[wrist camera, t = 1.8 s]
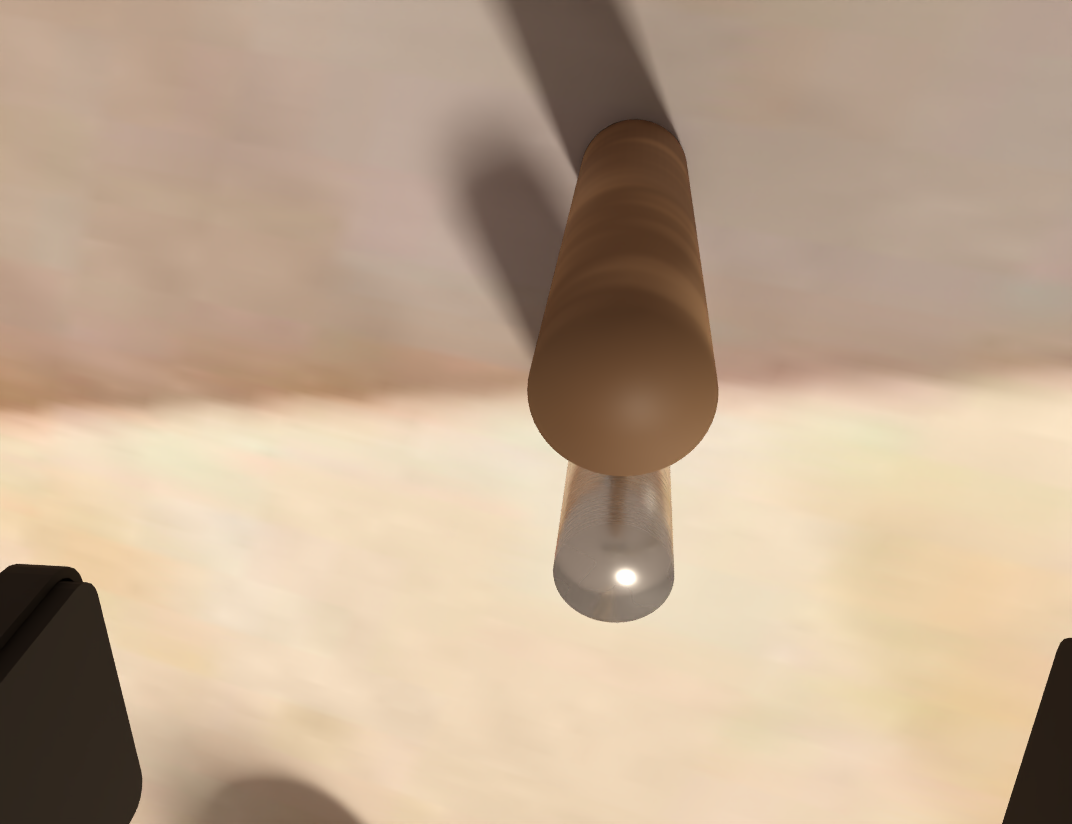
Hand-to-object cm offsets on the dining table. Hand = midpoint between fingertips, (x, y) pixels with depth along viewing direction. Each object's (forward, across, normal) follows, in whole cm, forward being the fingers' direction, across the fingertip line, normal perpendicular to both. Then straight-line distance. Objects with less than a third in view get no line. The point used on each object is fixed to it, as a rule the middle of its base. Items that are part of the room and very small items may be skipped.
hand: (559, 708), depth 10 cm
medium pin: (+21, -1, +8) cm, 22 cm away
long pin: (+21, -1, 0) cm, 21 cm away
